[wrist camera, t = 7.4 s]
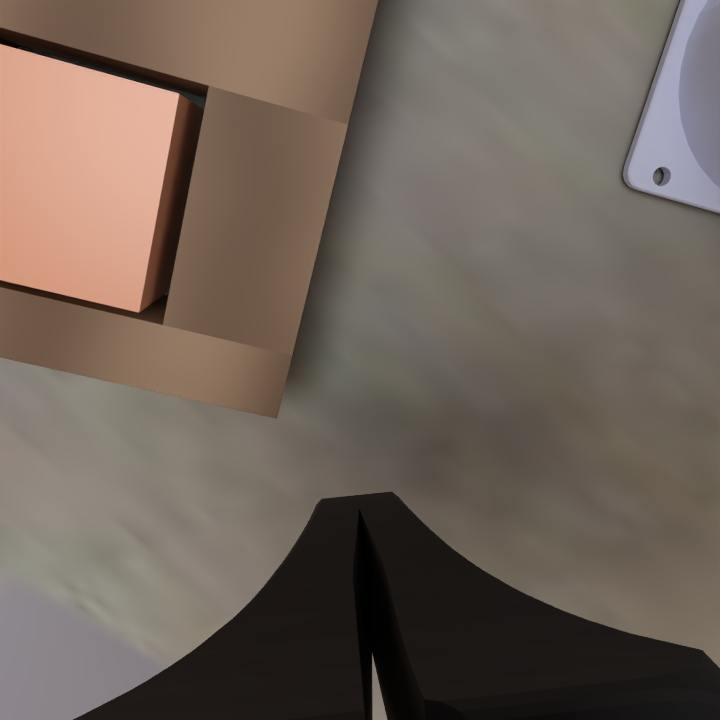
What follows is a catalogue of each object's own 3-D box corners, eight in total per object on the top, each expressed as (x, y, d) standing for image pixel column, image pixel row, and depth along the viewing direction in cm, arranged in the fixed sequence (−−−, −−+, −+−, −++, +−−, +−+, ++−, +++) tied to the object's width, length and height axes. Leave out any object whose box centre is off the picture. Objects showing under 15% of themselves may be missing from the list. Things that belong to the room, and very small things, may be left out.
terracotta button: (205, 111, 17) (179, 93, 14) (171, 289, 19) (139, 312, 15) (15, 58, 17) (-60, 27, 13) (-9, 246, 18) (-84, 260, 15)
